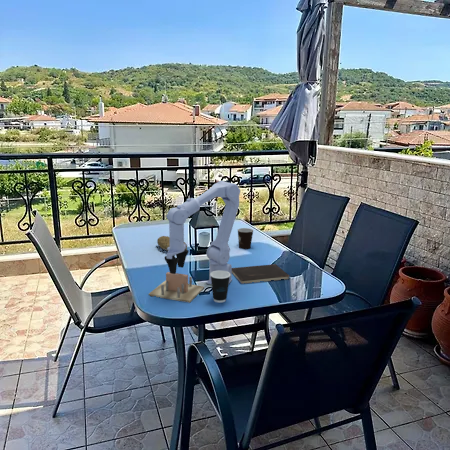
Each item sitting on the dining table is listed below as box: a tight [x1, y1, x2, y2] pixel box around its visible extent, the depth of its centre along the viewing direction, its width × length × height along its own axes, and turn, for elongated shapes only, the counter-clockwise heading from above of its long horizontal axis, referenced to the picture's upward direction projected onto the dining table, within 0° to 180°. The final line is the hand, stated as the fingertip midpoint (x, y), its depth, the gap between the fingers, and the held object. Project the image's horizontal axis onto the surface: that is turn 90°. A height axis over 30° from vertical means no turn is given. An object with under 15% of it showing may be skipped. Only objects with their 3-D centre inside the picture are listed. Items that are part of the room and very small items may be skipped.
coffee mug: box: [237, 227, 254, 250], centre depth 229 cm, size 12×9×10 cm
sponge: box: [156, 235, 188, 252], centre depth 221 cm, size 13×8×20 cm
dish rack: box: [148, 276, 205, 304], centre depth 168 cm, size 18×15×5 cm
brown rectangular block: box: [165, 271, 189, 292], centre depth 168 cm, size 9×2×7 cm, turn 71°
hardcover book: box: [232, 263, 290, 284], centre depth 189 cm, size 16×23×2 cm
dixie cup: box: [210, 271, 230, 304], centre depth 161 cm, size 8×8×11 cm
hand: (176, 270), depth 167 cm, fingers open, 7 cm apart
